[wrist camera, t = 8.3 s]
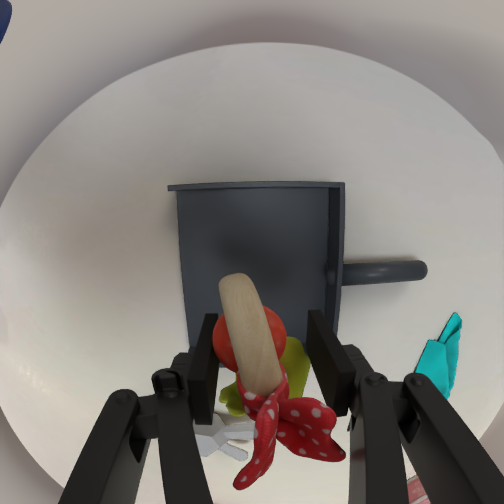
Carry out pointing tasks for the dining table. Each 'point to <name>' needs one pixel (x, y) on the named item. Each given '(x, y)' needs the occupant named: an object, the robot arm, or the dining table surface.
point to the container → (416, 492)
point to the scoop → (272, 249)
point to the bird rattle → (268, 382)
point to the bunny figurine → (222, 437)
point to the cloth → (442, 357)
